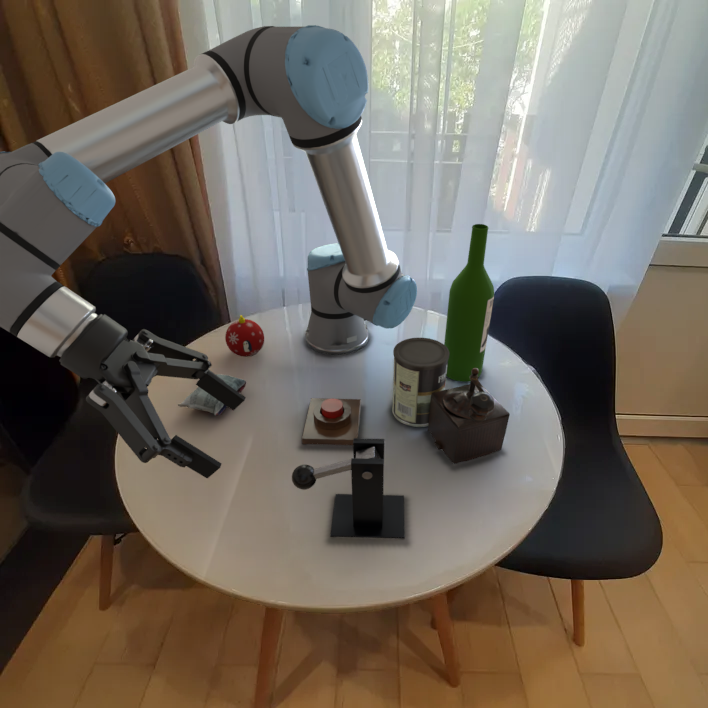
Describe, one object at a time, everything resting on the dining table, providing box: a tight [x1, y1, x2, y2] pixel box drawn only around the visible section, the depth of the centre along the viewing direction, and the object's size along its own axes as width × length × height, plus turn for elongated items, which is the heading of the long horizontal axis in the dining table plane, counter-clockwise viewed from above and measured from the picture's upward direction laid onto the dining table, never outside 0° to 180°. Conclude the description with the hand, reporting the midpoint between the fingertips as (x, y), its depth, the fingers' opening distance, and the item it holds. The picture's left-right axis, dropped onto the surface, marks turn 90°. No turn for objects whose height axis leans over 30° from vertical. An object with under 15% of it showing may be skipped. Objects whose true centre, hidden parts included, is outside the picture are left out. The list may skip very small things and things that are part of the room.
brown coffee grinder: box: [426, 368, 510, 465], centre depth 83 cm, size 16×11×18 cm
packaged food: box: [177, 373, 248, 416], centre depth 97 cm, size 9×12×5 cm
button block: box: [301, 397, 362, 446], centre depth 92 cm, size 12×10×4 cm
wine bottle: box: [443, 223, 495, 383], centre depth 100 cm, size 9×9×32 cm
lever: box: [291, 446, 381, 491], centre depth 69 cm, size 13×4×4 cm, turn 89°
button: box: [321, 398, 343, 419], centre depth 91 cm, size 4×4×2 cm
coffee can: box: [391, 337, 449, 428], centre depth 93 cm, size 10×10×14 cm
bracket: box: [329, 437, 406, 539], centre depth 71 cm, size 11×8×15 cm
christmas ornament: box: [224, 314, 265, 358], centre depth 111 cm, size 9×9×10 cm
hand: (228, 434), depth 66 cm, fingers open, 13 cm apart
